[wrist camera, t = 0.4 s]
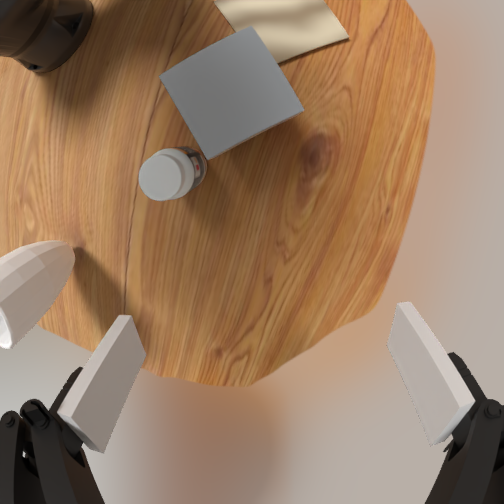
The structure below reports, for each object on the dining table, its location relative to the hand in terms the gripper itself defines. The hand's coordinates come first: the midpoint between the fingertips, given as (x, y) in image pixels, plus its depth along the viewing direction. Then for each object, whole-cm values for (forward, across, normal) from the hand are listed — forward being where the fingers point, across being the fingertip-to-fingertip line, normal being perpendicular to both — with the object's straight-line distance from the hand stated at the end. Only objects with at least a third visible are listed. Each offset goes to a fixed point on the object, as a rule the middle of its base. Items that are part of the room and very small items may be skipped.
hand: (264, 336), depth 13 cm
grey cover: (+20, -2, +14) cm, 25 cm away
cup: (+26, -32, -4) cm, 41 cm away
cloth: (+26, +4, +26) cm, 37 cm away
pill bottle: (+26, -10, +6) cm, 28 cm away
